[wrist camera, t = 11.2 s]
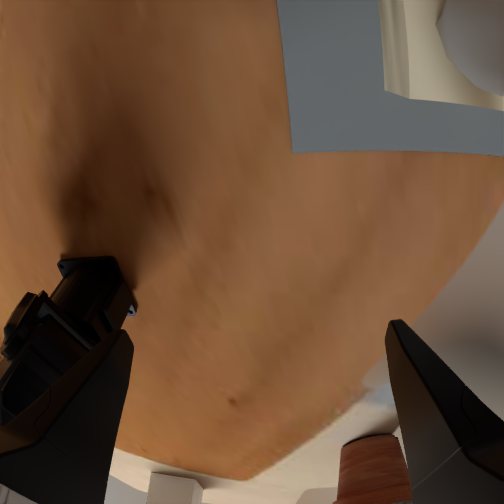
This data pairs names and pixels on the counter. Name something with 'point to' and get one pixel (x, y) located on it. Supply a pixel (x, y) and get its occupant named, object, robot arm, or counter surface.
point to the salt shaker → (475, 40)
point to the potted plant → (373, 472)
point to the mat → (365, 89)
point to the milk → (173, 490)
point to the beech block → (424, 57)
